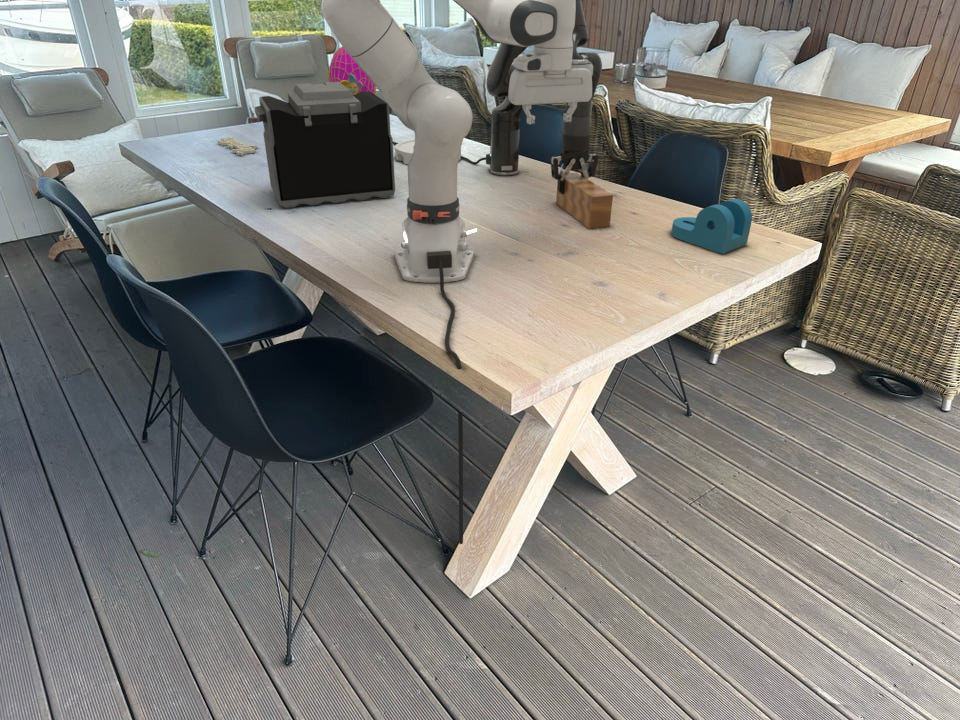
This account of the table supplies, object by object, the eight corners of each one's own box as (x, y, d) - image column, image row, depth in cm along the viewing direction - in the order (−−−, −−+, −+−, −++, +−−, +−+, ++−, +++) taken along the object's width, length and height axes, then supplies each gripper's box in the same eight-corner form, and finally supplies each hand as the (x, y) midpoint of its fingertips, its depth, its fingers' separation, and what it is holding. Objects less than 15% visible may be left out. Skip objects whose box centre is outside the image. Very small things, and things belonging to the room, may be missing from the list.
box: (609, 226, 184) (613, 195, 180) (589, 228, 182) (592, 197, 178) (574, 201, 202) (576, 172, 198) (555, 203, 201) (557, 174, 196)
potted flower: (342, 144, 260) (336, 73, 247) (351, 139, 266) (346, 70, 254) (365, 146, 257) (360, 74, 245) (374, 141, 264) (369, 71, 251)
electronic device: (382, 177, 221) (376, 78, 206) (401, 197, 203) (396, 90, 188) (265, 188, 209) (249, 84, 194) (274, 210, 192) (257, 97, 176)
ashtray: (454, 167, 232) (454, 155, 230) (388, 164, 235) (387, 152, 233) (466, 151, 252) (466, 140, 250) (404, 148, 255) (404, 137, 253)
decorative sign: (265, 149, 247) (238, 153, 242) (266, 152, 248) (239, 156, 243) (238, 135, 265) (212, 139, 260) (239, 138, 266) (213, 141, 260)
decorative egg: (362, 116, 305) (357, 42, 290) (386, 123, 292) (382, 46, 277) (324, 121, 294) (316, 45, 279) (347, 129, 281) (340, 49, 266)
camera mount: (746, 244, 173) (755, 203, 168) (722, 254, 167) (730, 212, 162) (687, 225, 185) (693, 186, 180) (662, 233, 179) (668, 194, 174)
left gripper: (587, 57, 163) (582, 117, 170) (506, 59, 157) (505, 122, 164) (599, 60, 158) (594, 123, 165) (516, 63, 152) (514, 127, 159)
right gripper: (594, 127, 193) (589, 186, 201) (547, 130, 189) (543, 190, 197) (606, 133, 186) (600, 194, 195) (557, 136, 183) (553, 198, 191)
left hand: (548, 122), depth 165 cm, fingers open, 8 cm apart
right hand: (571, 192), depth 196 cm, fingers closed on box, 6 cm apart
